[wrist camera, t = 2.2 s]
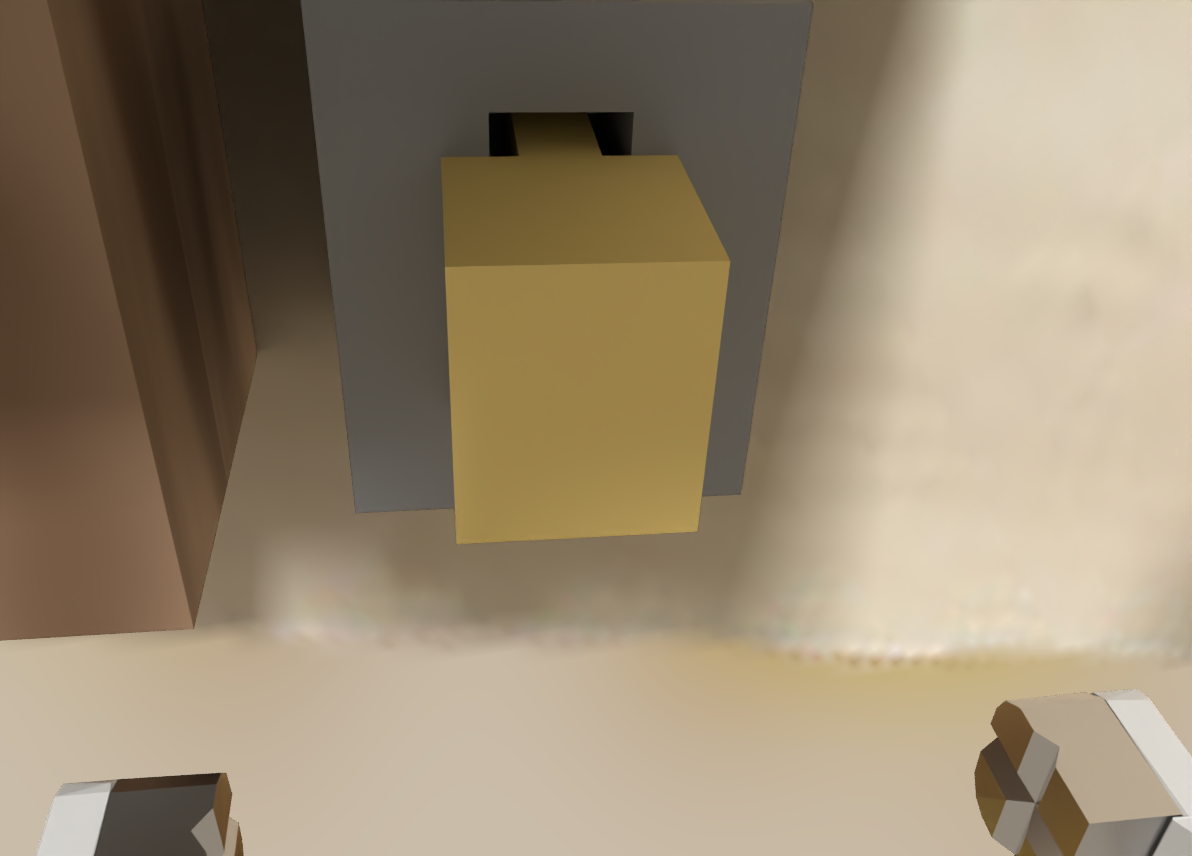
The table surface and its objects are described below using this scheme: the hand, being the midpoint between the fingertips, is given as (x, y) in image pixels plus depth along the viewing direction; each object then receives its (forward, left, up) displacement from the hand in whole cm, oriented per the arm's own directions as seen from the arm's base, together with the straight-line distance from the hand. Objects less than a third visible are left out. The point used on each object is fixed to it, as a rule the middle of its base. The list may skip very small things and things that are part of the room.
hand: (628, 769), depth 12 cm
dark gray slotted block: (0, 0, -19) cm, 18 cm away
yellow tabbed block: (0, 0, -14) cm, 14 cm away
